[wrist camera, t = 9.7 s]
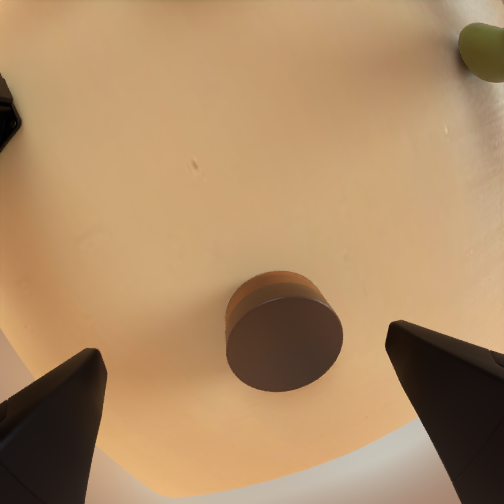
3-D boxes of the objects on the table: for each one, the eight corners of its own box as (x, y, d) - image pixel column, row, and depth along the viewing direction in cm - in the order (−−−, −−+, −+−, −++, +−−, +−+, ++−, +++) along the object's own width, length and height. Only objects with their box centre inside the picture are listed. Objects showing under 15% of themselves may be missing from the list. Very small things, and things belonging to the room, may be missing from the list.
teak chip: (260, 371, 22) (263, 388, 20) (204, 307, 20) (203, 322, 18) (339, 324, 21) (348, 338, 19) (294, 250, 19) (302, 260, 17)
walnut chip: (263, 387, 20) (266, 407, 18) (202, 321, 18) (201, 339, 16) (348, 337, 19) (359, 354, 17) (301, 259, 17) (311, 271, 15)
